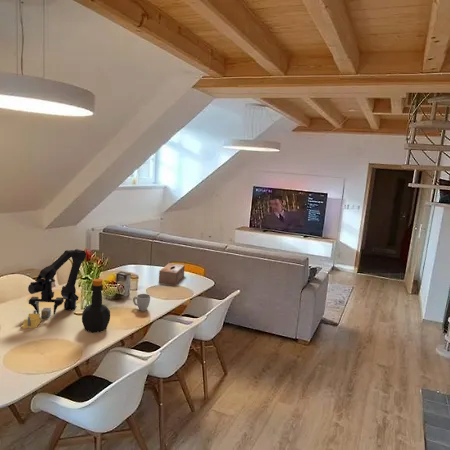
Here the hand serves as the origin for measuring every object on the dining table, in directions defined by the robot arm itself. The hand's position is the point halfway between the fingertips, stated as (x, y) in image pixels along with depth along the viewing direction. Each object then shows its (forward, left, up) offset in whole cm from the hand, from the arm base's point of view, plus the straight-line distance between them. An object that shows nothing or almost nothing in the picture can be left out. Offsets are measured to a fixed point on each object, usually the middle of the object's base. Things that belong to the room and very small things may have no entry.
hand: (46, 314), depth 234 cm
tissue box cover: (-78, -85, -2) cm, 115 cm away
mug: (-56, -16, -2) cm, 58 cm away
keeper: (+5, +10, -2) cm, 11 cm away
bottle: (-32, +15, -2) cm, 35 cm away
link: (0, 0, -2) cm, 2 cm away
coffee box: (-41, -44, -2) cm, 60 cm away
